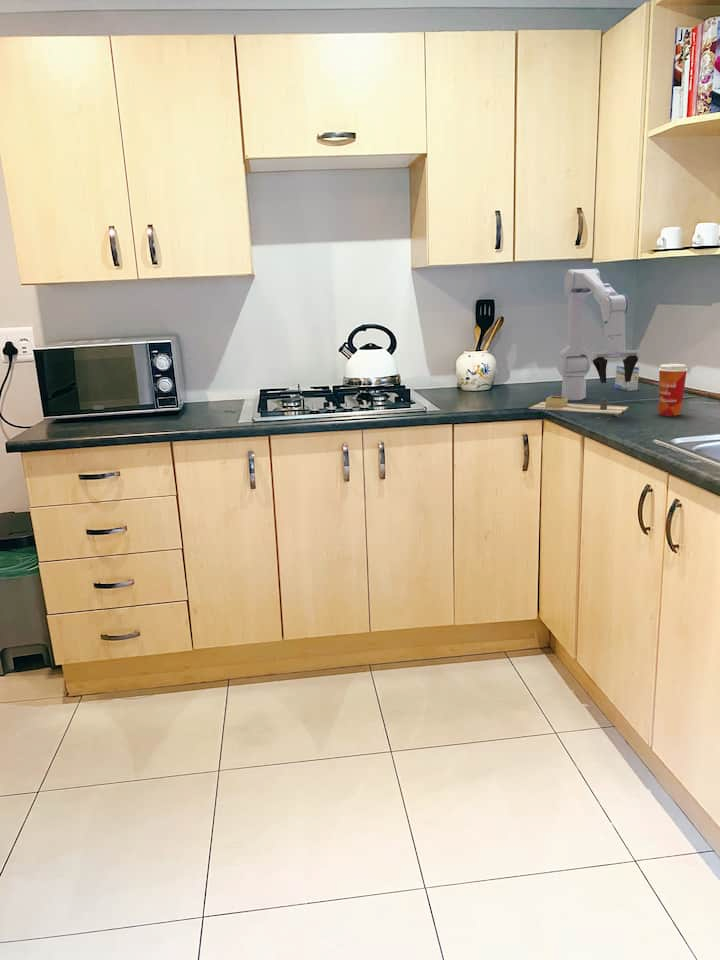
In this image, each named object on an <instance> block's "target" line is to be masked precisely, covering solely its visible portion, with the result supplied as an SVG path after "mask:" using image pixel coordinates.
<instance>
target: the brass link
mask: <svg viewBox="0 0 720 960" xmlns="http://www.w3.org/2000/svg"><path fill="white" fill-rule="evenodd" d="M568 401H569V400H568V397H562V395H561V396H559V395H550V396H549V397H546V398H545V402H546V407H555V408H563V407H565V406H567V405H568V403H569V402H568Z"/></svg>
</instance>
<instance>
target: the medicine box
mask: <svg viewBox="0 0 720 960" xmlns="http://www.w3.org/2000/svg"><path fill="white" fill-rule="evenodd" d="M615 368H616V369H615V379H614V381H615V383H614V389H616V390H622V391H626V392H630V391H631V392H633V391H634V392H635V391H637V390H638V388H639V387H638V386H639V385H638V384H639V373H640V372H639V371H640V367H638V366H635V367H634V370H633V373H632V376H631V381H630V382H625V369H624V364H620V365H616V367H615Z"/></svg>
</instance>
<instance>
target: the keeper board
mask: <svg viewBox="0 0 720 960" xmlns="http://www.w3.org/2000/svg"><path fill="white" fill-rule="evenodd" d="M529 409H533V410H534V409H535V410H546V411H547V410H550V411H565V412H578V413H579V412H580V413H595V414H597V413H598V414H611V415H617V416H618V415H619V414H621V413H622V412H624V411H626V410H627V409H628V410H629V406H623V405H621V406H620V405H608V399H607V398H606V397H602V398H601V399H600V403H599V404H589V403H588V404H587V403H574V402H573V403H571V402H570V403H569V402H568V405H567V406H565V407H563V408H555V407H546V401H541V402H539V403H537V404H534V405H532V406H529ZM628 410H627V411H628ZM627 411H626V412H627ZM624 413H625V412H624ZM621 415H622V414H621ZM618 417H619V416H618Z"/></svg>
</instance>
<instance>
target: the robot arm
mask: <svg viewBox="0 0 720 960" xmlns="http://www.w3.org/2000/svg"><path fill="white" fill-rule="evenodd" d="M563 281H564V282H563V283H564V284H563V285H564V286H563V289H564V295H565V296H566V297H567V298H568V300H567V302H568V305H567V307H568V308H567V345H566V346H565V348H563V349H562V350H561V351H559V353H558V359H557V364H556V365H557V366H556V367H557V372H558V373H559V375H560V376H562V378H561V379H562V380H561V381H562V382H561V396H562V397H568V401H581V400H584V399H586V393H587V392H586V391H587V389H586V388H587V380H586V378H585V376H587V374H588V373H589V372H590V370H591V365H592V364H593V365H594V367H595V370H596V371H597V373H598V377H599V380H600V384H606V383H607V365H608V359H618V358H622V359H623V360H622V363H623V365H624V369H625V382H630V381H631V376H632V373H633V370H634V367H636V365H637V363H638V361H639V357H641V351H640V349H636V350H635V349H634V350H633V349H630V350H629V349H627V350H626V314H627V312H628V310H629V305H630V304H629V303H630V302H629V298H628V296H627V294H625V293H623V294H619V293H618V292H617V291H616V290H615V289H614V288H613V287H612V286H611V283H603V281H602V280H601V272H600V271H599V269H598V268H581V269H579V268H578V269H577V268H576V269H572V268H569V269H568V270H567V272H566V273H565V275H564V280H563ZM591 293H593V294H592V295H593V299H594V300H595V301H596V302H597V303H598V304H599V305H600V312H601V314H602V321H603V323H604V351H592V352H589V351H588V350H587V348H586V347H584V346H583V345H584V344H583V341H584V305H585V304H584V302H585V301H584V300H585V298H586V296H588V295H590V294H591ZM624 358H625V359H624ZM591 360H592V363H591Z"/></svg>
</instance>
